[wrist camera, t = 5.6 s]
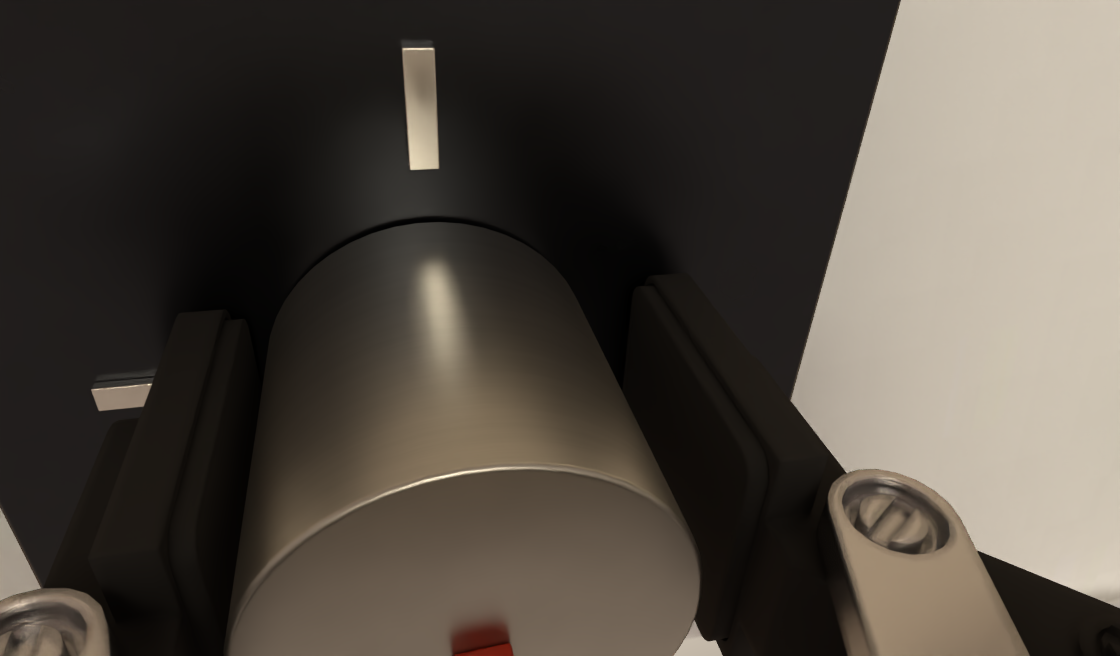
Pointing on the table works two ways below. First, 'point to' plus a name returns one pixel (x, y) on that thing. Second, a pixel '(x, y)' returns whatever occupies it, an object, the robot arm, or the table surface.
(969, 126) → the table surface
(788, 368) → the dial panel
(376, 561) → the dial
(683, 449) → the robot arm
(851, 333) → the table surface
